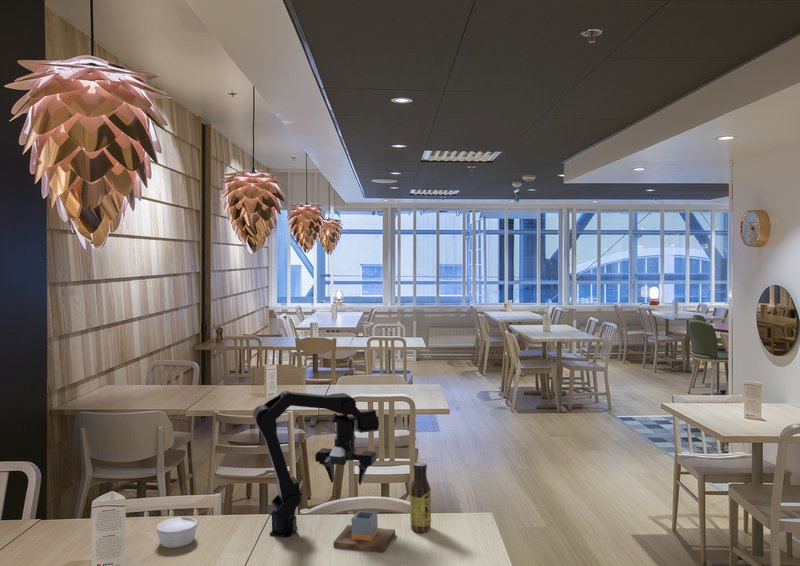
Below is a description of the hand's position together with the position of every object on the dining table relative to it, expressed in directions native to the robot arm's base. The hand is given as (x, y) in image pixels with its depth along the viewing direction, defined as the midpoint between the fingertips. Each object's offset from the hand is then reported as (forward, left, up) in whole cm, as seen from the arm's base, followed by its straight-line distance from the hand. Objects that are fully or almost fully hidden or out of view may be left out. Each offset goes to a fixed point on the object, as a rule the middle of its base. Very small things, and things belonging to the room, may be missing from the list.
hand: (346, 483), depth 199 cm
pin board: (+10, -12, -12) cm, 20 cm away
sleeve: (+10, -12, -10) cm, 19 cm away
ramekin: (-44, -25, -12) cm, 52 cm away
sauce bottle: (+24, 0, -12) cm, 27 cm away
